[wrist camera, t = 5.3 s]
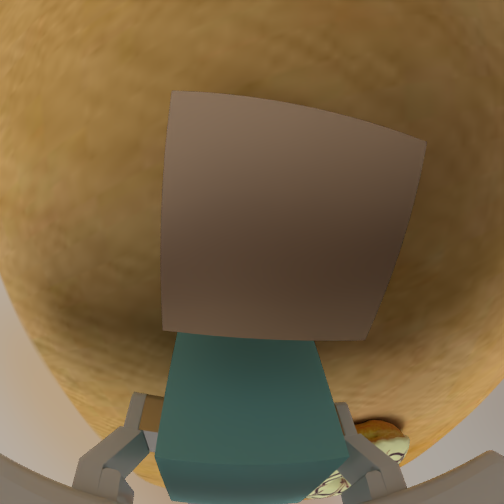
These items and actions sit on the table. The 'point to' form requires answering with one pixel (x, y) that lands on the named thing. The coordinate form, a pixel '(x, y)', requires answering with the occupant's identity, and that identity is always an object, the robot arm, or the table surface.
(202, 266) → the walnut cube
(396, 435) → the decorated donut
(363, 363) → the table surface
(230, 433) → the teal cube
